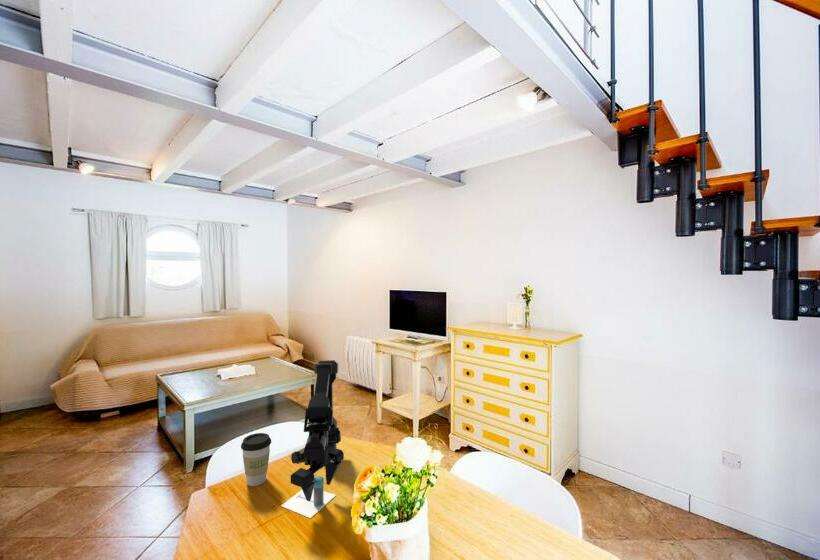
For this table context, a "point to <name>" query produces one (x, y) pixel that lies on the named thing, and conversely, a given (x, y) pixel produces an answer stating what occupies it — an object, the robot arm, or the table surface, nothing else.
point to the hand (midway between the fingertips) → (318, 492)
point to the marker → (318, 491)
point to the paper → (306, 504)
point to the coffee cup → (256, 457)
